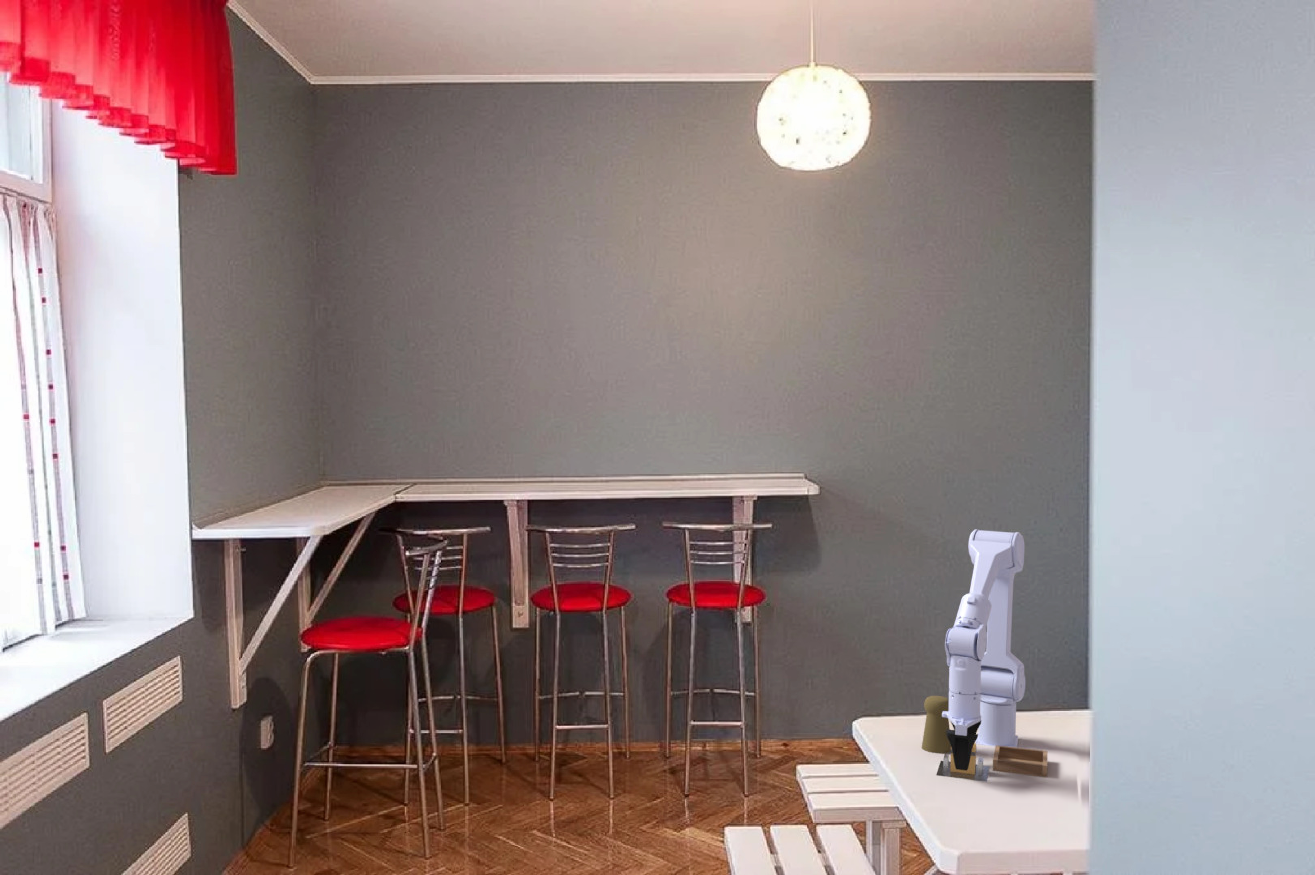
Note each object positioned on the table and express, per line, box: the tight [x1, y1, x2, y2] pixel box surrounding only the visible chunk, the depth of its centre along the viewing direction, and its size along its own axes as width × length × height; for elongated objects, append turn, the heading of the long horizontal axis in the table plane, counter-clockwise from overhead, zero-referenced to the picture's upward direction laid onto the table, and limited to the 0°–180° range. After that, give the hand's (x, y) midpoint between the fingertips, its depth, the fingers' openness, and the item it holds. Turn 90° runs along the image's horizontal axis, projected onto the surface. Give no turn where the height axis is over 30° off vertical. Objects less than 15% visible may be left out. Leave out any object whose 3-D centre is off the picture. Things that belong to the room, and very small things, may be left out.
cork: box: [921, 695, 951, 754], centre depth 220 cm, size 6×6×11 cm
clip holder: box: [935, 753, 990, 782], centre depth 207 cm, size 9×9×3 cm
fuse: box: [949, 742, 978, 774], centre depth 207 cm, size 3×4×5 cm, turn 70°
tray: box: [992, 745, 1048, 778], centre depth 210 cm, size 10×10×3 cm
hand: (963, 763), depth 207 cm, fingers open, 7 cm apart
